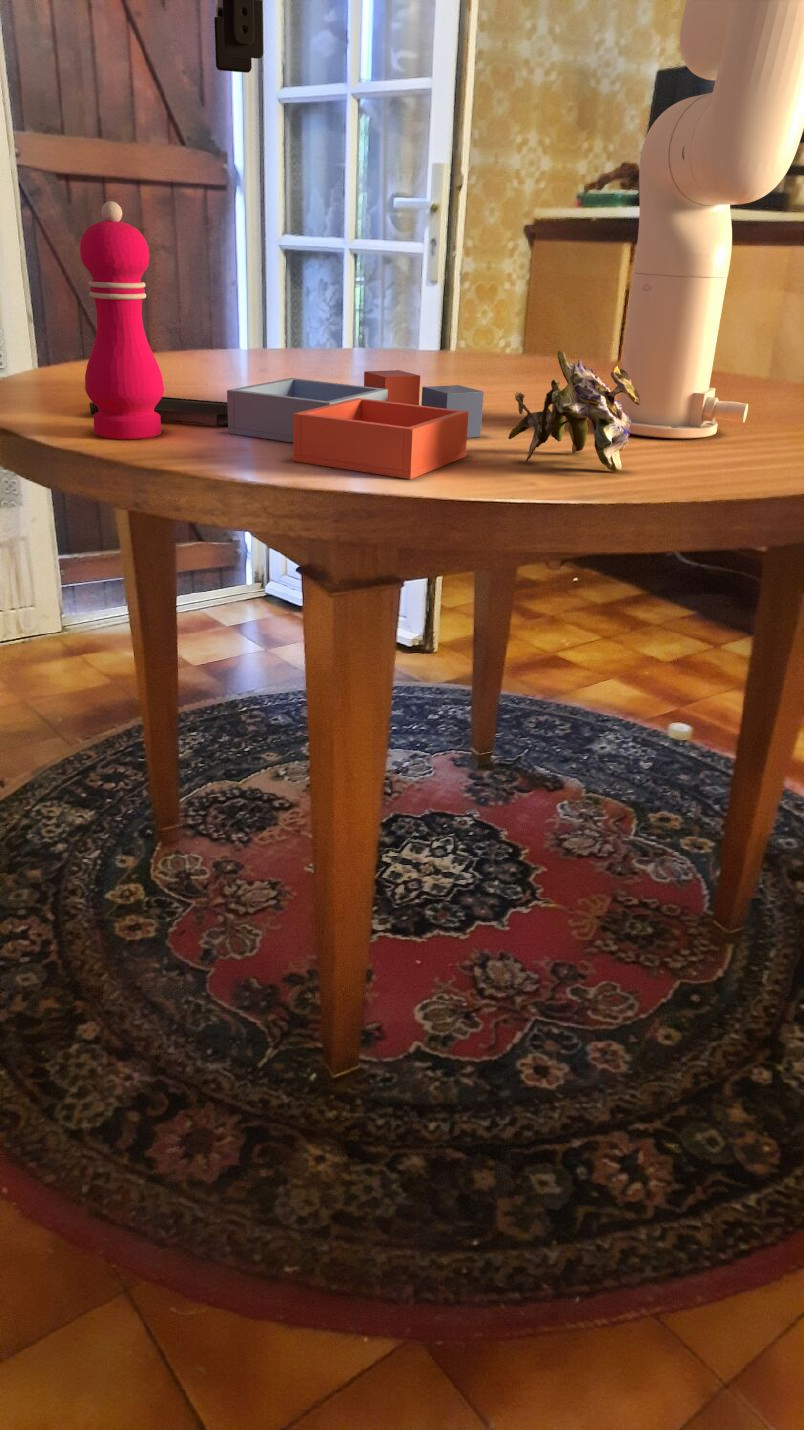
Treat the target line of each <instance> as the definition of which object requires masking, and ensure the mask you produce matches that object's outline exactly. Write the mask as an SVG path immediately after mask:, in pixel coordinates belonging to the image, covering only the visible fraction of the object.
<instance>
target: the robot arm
mask: <svg viewBox="0 0 804 1430" xmlns="http://www.w3.org/2000/svg"><path fill="white" fill-rule="evenodd" d="M263 1H264V0H215V16H214V18H213V21H214V50H215V54H214V55H215V67H216V69H217V70H218V71H221V72H234V73H250V72H251V71H252V69H253V68H252V67H253V64H252V63H253V62H252V61H253V60H252V59H256V60H257V59H258V60H260V59H261V58H263V56H264V7H263V6H264V3H263ZM683 9H684V10H683V14H682V19H681V25H680V30H679V49H680V54H681V57H682V60H683V62H684V65H685V66H686V67H687V69H688V70H689V71H690V72H691V73H692V74H693V75H694V76H697V77H698V78H701V79H704V80H706V81H715V82H714V85H713V90H712V92H708V93H704V94H700V95H695V96H691V97H687V98H684V99H681V100H679V101H678V102H676V103H674V104H672V105H671V106H669V107H667V108H666V109H665V110H664V111H663V112H661V114H660V115H659V116H658V117H657V118H656V119H655V120H654V122H653V123H652V125H651V126H650V128H649V130H648V132H647V134H646V136H645V139H644V141H643V144H642V148H641V151H640V158H639V168H638V169H639V170H638V190H639V196H638V197H639V216H638V217H639V218H638V231H637V232H638V233H637V245H636V250H635V251H636V252H635V261H634V268H633V273H632V281H631V290H630V296H629V305H628V312H627V320H626V327H625V335H624V344H623V351H622V359H621V365H620V366H621V367H620V369H624V370H625V371H626V372H627V373H628V377H629V378H630V379H631V382H632V384H633V386H634V387H635V389H636V390H637V392H638V394H639V397H640V401H641V404H640V405H637V404H635V403H634V402H633V401H632V400H631V399H630V398H629V396H628V395H627V394H625V393H618V394H617V396H616V397H617V398H616V400H617V401H620V404H621V405H622V410H623V413H624V414H626V415H628V416H629V420H631V425H630V426H629V430H630V433H629V434H630V435H635V436H640V437H641V436H642V437H651V438H662V439H663V438H664V439H699V438H707V437H711V436H713V435H715V434H717V431H718V422H717V420H716V419H719V420H726V421H729V422H737V423H745V421H746V420H747V416H748V411H749V403H746V402H739V401H731V400H728V401H726V400H719V397H716V396H715V395H716V387H710V385H711V384H710V383H711V377H712V373H713V366H714V360H715V354H716V347H717V342H718V335H719V330H720V323H721V317H722V311H723V305H724V299H725V294H726V287H727V281H728V278H729V272H730V265H731V259H732V249H733V248H732V247H733V226H732V215H731V206H735V205H737V206H738V205H745V204H749V203H753V202H756V201H758V200H760V199H762V198H763V197H765V196H767V195H768V194H770V193H771V192H772V191H773V190H774V189H776V188H777V186H779V184H780V183H781V181H783V179H784V178H785V176H786V174H787V173H788V171H789V169H790V167H791V165H792V164H793V161H794V158H795V156H796V154H797V151H798V148H799V145H800V142H801V138H802V136H803V132H804V0H686V1H685V5H684V8H683Z"/></svg>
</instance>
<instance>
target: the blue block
mask: <svg viewBox="0 0 804 1430" xmlns="http://www.w3.org/2000/svg"><path fill="white" fill-rule="evenodd" d="M484 393H485V392H484V391H483V390H480V389H475V388H472V387H467V386H463V385H459V384H455V385H454V384H453V385H451V384H450V385H430V386H421V404H420V406H428V407H436V408H445V409H453V410H460V411H468V412H469V415H468V430H467V439H473V438H480V437H481V435H482V420H483V406H484Z"/></svg>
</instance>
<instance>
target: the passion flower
mask: <svg viewBox="0 0 804 1430" xmlns="http://www.w3.org/2000/svg"><path fill="white" fill-rule="evenodd" d="M557 360H558V364H559V367H560V370H561V372H562V373H561V374H562V375H563V377H564V379H565V381H566V382H567V385H566V386H565V387H564V388H563V389H560V387H559V386H560V384H561V383H560V382H559V381H557V380H556V379H552V380H551V382H550V386H551V389H550V390H549V391H548V392H547V393H546V396H545V398H544V402H543V403H544V404H543V409H542V411H536V412H531V411H530V410H529V409H528V408H527V406H526V405H525V403H524V398H525V396H526V395H525V394H524V393H523V392H515V395H514V399H515V401H516V402H517V403H518V405H517V406H518V414H520V415H522V414H524V412H526V415H525V416H524V417H523V418H522V419H521V420H520V421H519V422H518V423H517V425H515V426H514V427H513V428H512V429H511V431H510V433H509V434H508V437H507V438H508V440H512V439H514V438H515V437H516V436H518V435H519V434H522V433H523V432H525V431H526V430H528V429H530V428H532V427H533V430H534V431H533V436H532V439H531V442H530V444H529V449H528V453H527V456H526V459H525V463H526V464H528V462H529V460H530V459H531V458H532V456H533V454H534V453H535V451H536V448H539V447H540V446H542V444H545V443H546V442H547V441H548V439H549V437H550V436H551V437H552V438H553V439H554V440H556V441H557V442H561V441H562V440H563V436H564V431H565V425H566V424H568V426H567V427H568V428H567V431H568V434H569V436H570V437H569V438H570V440H571V443H572V444H571V453H572V454H573V455H574V454H576V452H581V451H583V449H584V448H585V446H586V444H587V443H586V442H587V441H588V440H587V436H588V431H589V428H588V421H587V419H589V421H590V422H591V424H592V428H593V439H594V449H595V452H596V455H597V457H598V460H599V462H600V463H601V464H602V465H604V466H605V467H606V468H607V469H608V470H610V471H611V472H615V473H619V472H621V471H622V462H621V459H620V451H624V449H625V447H626V445H628V444H629V437H630V435H631V434H629V433H630V430H629V426H630V425H631V420H629V416H628V415H626V414H624V413H623V410H622V405H621V404H620V401H617V399H615V397H616V395H618V393H625V394H627V395H628V396H629V398H630V399H631V400H632V401H633V402H634V403H635V404H637V405H640V404H641V401H640V397H639V394H638V392H637V390H636V389H635V387H634V386H633V384H632V382H631V379H630V378H629V377H628V373H627V372H626V371H625V370H624V369H621V368H620V369H619V367H618V366H617V365H616V366H614V367H613V368H612V371H611V372H610V377H611V379H612V381H613V382H614V383H615V384H616V385H617V386H616V387H615V388H614V389H613V390H612V391H611V390H610V388H609V384H607V385H606V384H605V382H604V381H603V380H601V377H600V376H597V375H596V376H595V374H597V372H596V371H593V368H590V369H588V368H587V366H586V365H583V363H582V360H580V359H578V360H577V363H576V362H575V363H574V365H573V364H572V363H571V362H568V360H567V357H566V353H565V352H564V351H560V350H558V351H557ZM550 406H551V409H550Z"/></svg>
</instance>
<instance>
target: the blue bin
mask: <svg viewBox="0 0 804 1430" xmlns="http://www.w3.org/2000/svg"><path fill="white" fill-rule="evenodd" d="M356 398H363V399H371V400H380V401H387V399H388V389H382V388H381V389H380V388H373V387H364V385H356V384H355V385H354V384H348V383H347V384H346V383H338V382H329V381H322V380H321V381H320V380H312V379H303V378H295V377H290V378H284V379H279V380H273V381H268V382H264V383H263V382H262V383H258V384H252V385H247V386H241V387H235V388H231V389H227V390H226V402H227V407H228V424H227V433H228V434H230V435H231V434H232V435H237V436H245V437H252V438H259V439H266V440H271V441H272V440H273V441H278V442H279V441H280V442H285V443H292V444H293V414H294V413H298V412H302V411H307V410H311V409H315V408H319V407H323V406H327V405H331V404H335V403H339V402H344V401H348V400H352V399H356Z"/></svg>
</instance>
